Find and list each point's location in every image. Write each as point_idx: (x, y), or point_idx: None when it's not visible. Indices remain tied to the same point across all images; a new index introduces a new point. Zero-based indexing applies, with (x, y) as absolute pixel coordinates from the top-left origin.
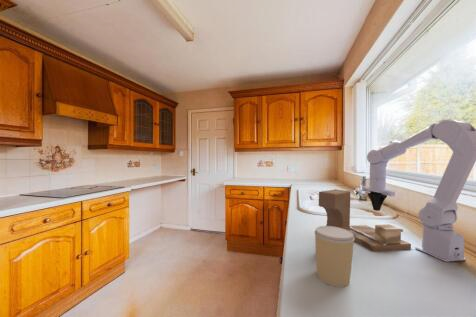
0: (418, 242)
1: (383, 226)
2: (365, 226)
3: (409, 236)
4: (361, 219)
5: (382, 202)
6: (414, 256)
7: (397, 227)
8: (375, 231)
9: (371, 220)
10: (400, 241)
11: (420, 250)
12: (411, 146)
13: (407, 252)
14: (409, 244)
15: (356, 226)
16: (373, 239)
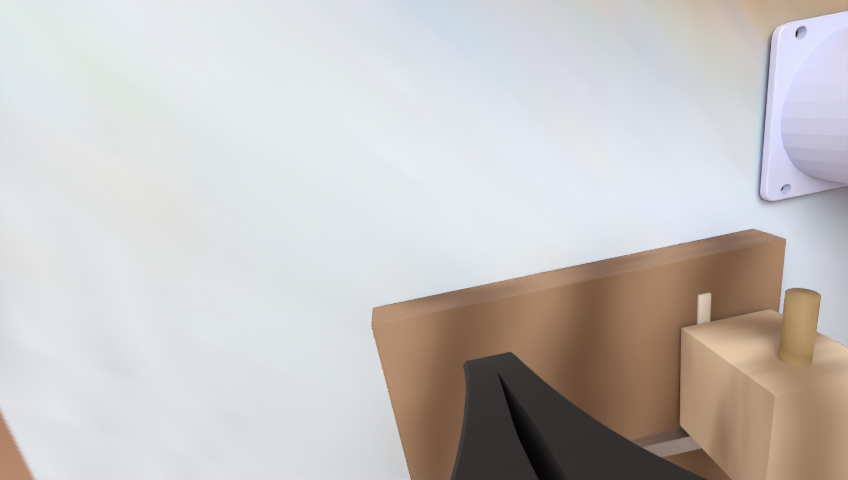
0: (668, 60)
1: (808, 471)
2: (414, 349)
3: (540, 18)
4: (9, 172)
5: (613, 440)
6: (830, 285)
7: None
8: (723, 464)
9: (12, 62)
10: (780, 314)
11: (799, 194)
12: None
13: (784, 287)
14: (780, 248)
15: (421, 420)
16: (697, 443)
